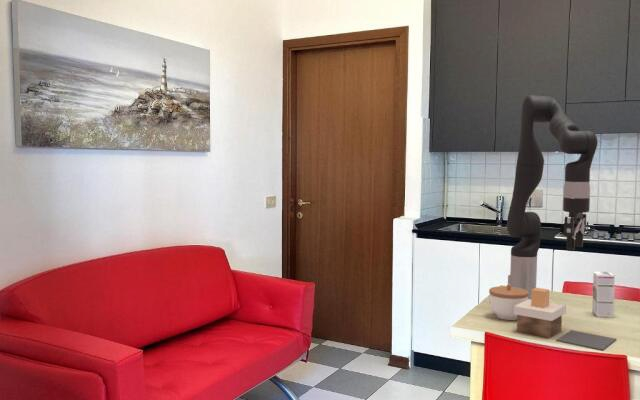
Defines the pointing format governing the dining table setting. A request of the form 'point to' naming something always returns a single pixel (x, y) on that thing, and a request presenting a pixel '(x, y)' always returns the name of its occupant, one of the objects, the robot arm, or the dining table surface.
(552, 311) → the lid
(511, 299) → the lidded bowl
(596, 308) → the syrup box
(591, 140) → the robot arm
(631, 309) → the dining table surface
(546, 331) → the storage box
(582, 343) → the mat
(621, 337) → the dining table surface
